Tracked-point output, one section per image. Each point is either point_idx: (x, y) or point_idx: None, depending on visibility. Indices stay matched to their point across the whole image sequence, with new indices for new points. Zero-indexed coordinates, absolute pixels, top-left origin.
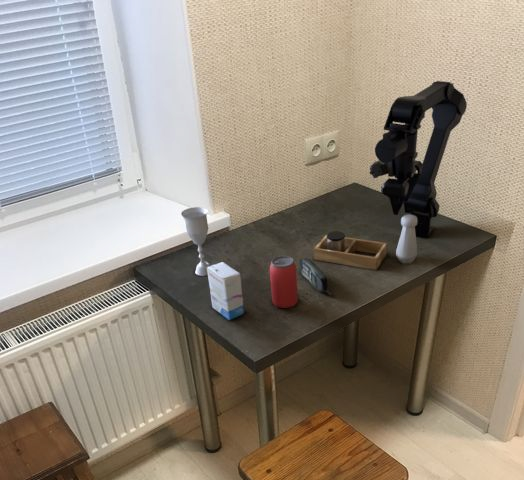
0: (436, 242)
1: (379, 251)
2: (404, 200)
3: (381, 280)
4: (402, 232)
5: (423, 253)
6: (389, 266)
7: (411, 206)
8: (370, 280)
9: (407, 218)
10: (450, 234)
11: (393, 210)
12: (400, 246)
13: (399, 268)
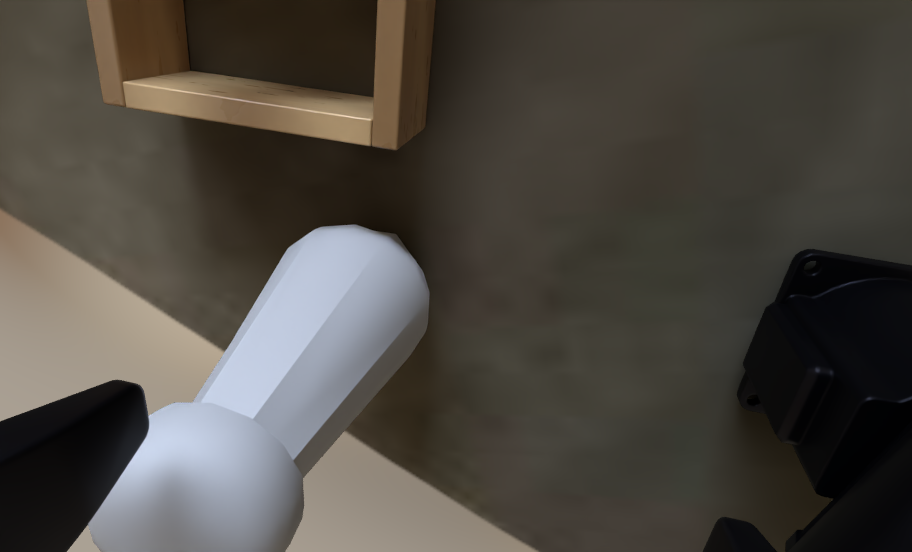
0: (666, 445)
1: (224, 104)
2: (713, 544)
3: (75, 149)
4: (221, 365)
5: (490, 372)
6: (256, 175)
7: (888, 483)
8: (39, 75)
9: (102, 530)
10: (800, 524)
11: (31, 424)
12: (262, 291)
13: (255, 242)
